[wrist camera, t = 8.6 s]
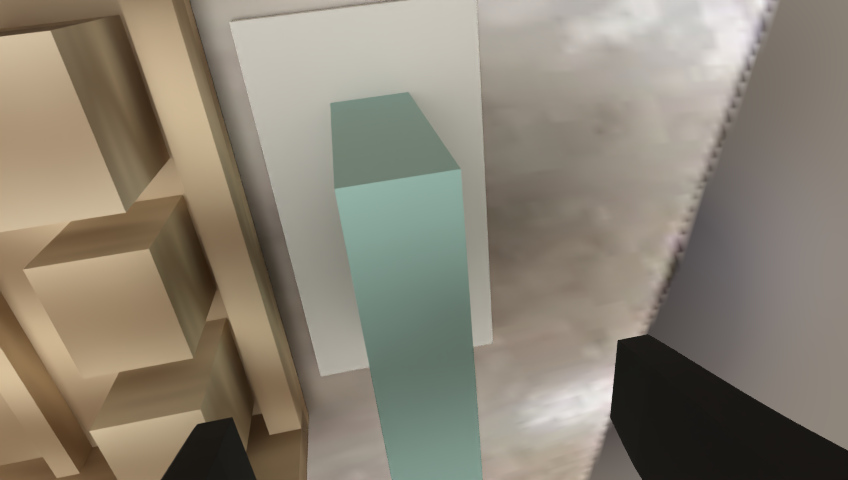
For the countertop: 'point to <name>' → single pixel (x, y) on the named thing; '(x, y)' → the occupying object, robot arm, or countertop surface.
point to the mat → (312, 137)
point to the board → (409, 283)
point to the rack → (221, 244)
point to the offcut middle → (126, 287)
